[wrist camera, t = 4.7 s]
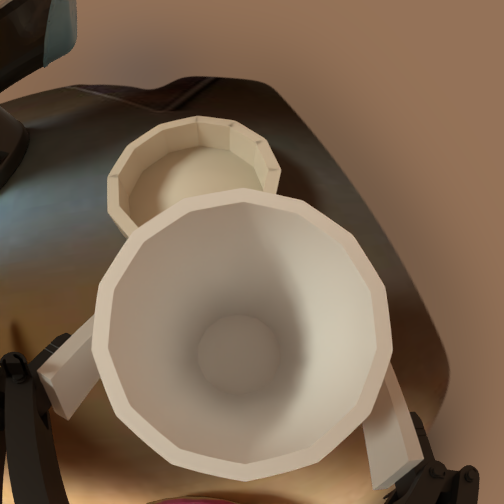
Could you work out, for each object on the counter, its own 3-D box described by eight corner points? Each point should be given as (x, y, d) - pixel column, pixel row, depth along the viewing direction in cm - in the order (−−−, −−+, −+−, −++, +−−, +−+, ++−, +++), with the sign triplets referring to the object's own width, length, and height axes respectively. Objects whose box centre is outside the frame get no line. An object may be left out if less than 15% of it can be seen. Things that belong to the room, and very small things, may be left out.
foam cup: (285, 283, 22) (337, 175, 10) (316, 397, 18) (420, 415, 7) (165, 307, 21) (88, 220, 9) (189, 426, 17) (124, 490, 5)
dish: (120, 165, 26) (109, 139, 23) (247, 135, 29) (248, 107, 25) (130, 290, 21) (111, 273, 17) (295, 247, 23) (306, 223, 20)
